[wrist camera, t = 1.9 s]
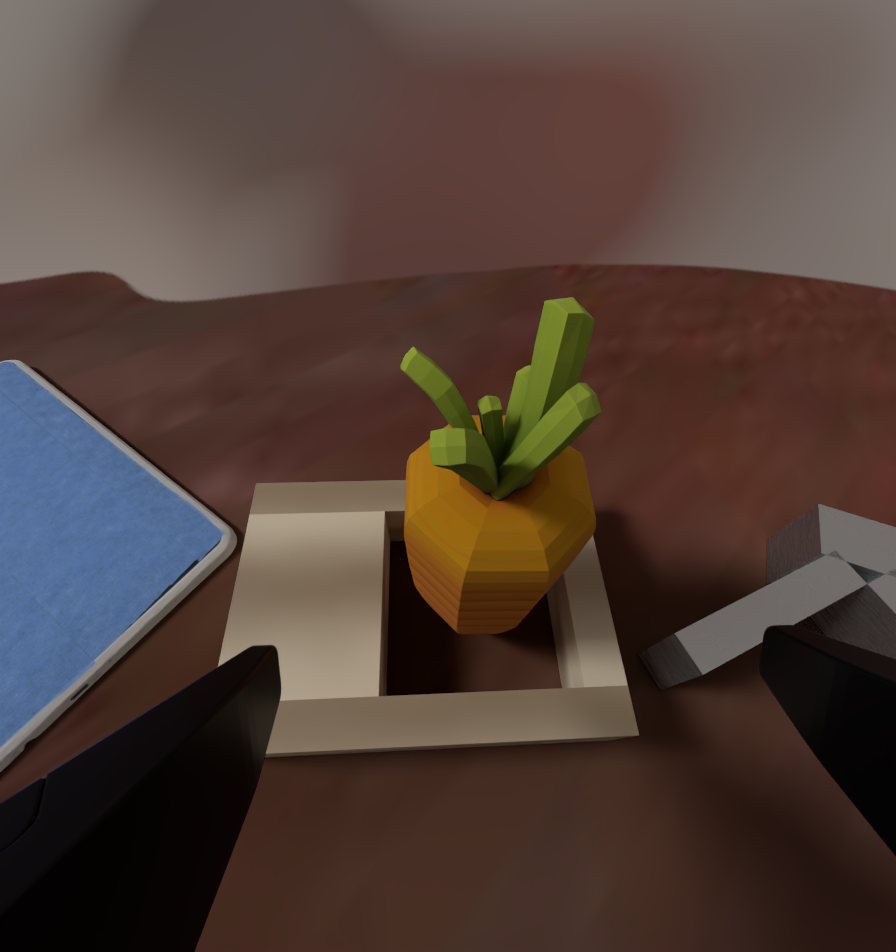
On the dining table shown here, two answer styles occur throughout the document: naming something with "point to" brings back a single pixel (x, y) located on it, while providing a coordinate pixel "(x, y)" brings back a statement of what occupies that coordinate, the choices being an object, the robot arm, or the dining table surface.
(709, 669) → the v-block
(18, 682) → the tablet computer
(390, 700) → the socket block
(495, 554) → the carrot
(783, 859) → the dining table surface
